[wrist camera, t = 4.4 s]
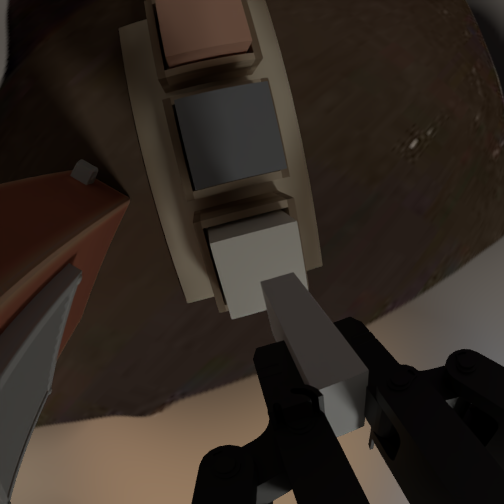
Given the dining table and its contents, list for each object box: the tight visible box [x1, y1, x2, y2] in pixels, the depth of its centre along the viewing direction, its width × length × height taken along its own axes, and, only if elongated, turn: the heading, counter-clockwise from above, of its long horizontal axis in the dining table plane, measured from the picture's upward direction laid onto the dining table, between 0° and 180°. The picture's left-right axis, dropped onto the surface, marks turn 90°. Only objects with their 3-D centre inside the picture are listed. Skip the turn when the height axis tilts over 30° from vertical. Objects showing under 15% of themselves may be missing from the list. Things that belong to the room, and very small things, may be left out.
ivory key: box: [208, 209, 308, 319], centre depth 19 cm, size 5×5×4 cm
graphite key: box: [174, 81, 287, 190], centre depth 16 cm, size 5×5×4 cm
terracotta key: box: [155, 0, 252, 69], centre depth 14 cm, size 5×5×4 cm
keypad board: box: [119, 0, 322, 313], centre depth 18 cm, size 12×24×4 cm, turn 12°
